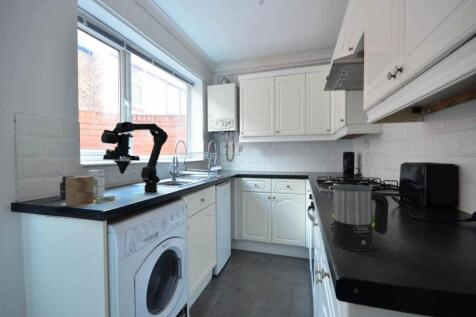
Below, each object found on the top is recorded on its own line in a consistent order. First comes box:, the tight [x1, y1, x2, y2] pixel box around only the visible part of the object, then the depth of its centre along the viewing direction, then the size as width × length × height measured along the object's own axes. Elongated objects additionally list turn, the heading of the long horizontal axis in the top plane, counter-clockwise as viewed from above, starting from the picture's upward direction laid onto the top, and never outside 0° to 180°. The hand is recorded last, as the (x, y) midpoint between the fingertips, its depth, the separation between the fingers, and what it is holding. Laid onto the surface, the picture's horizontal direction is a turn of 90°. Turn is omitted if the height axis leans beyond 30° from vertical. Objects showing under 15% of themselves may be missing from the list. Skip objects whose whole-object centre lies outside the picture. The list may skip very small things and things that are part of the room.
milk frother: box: [330, 184, 390, 252], centre depth 60 cm, size 14×16×15 cm
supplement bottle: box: [59, 175, 75, 200], centre depth 114 cm, size 7×7×12 cm
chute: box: [60, 193, 122, 208], centre depth 103 cm, size 19×14×3 cm
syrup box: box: [88, 169, 106, 195], centre depth 126 cm, size 6×6×14 cm
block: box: [65, 175, 94, 207], centre depth 98 cm, size 8×6×12 cm
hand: (122, 173), depth 119 cm, fingers closed
